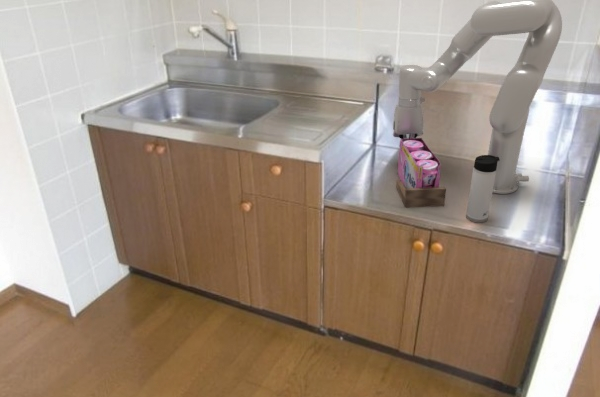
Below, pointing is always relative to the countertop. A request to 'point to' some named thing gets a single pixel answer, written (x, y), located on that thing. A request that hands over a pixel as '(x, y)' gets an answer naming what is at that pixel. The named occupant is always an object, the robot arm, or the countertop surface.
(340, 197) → the countertop surface
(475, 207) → the travel mug
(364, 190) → the countertop surface
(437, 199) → the brown wooden open box
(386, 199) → the countertop surface
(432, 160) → the gum box
